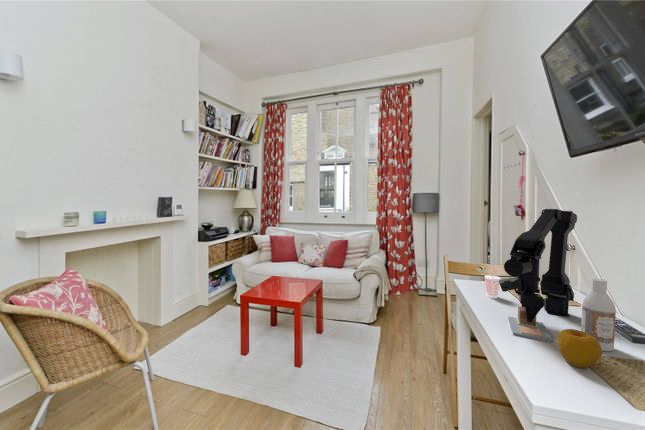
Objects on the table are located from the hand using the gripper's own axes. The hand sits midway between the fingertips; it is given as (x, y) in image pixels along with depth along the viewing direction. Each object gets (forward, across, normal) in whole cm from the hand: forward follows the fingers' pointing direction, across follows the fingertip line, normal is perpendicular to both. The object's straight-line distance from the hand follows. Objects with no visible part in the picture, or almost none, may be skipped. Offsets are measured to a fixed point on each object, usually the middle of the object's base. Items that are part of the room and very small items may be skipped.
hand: (526, 316), depth 94 cm
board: (+3, +4, 0) cm, 5 cm away
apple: (+3, +22, +8) cm, 23 cm away
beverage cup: (+3, -28, -9) cm, 30 cm away
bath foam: (+3, +6, +16) cm, 18 cm away
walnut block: (+2, 0, 0) cm, 2 cm away
